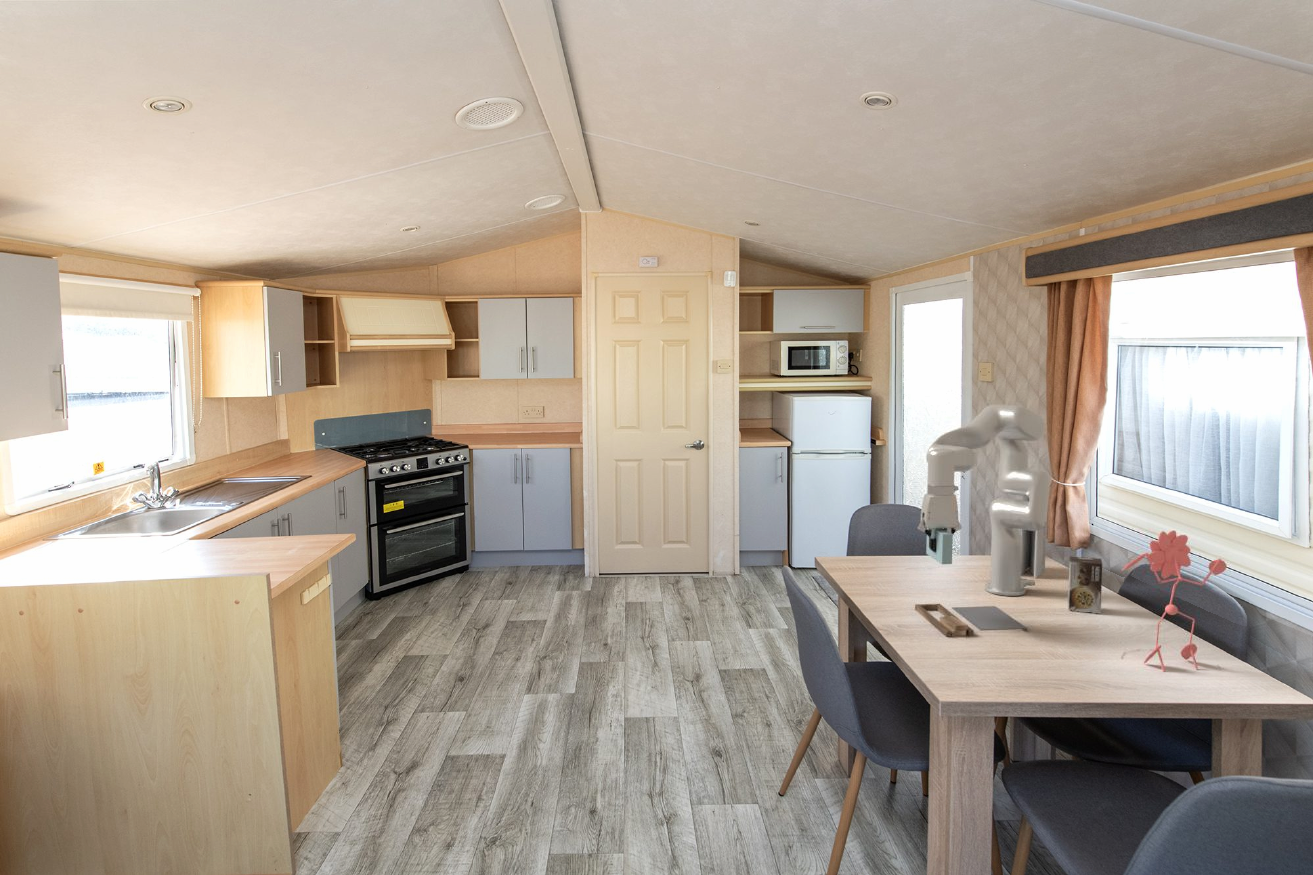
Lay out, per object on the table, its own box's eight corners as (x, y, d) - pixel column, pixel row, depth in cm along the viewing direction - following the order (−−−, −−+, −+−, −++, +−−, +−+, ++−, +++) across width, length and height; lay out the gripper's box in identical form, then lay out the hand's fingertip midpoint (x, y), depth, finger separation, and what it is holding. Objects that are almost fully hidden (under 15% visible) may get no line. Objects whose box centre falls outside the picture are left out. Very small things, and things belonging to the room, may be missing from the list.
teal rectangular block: (935, 553, 254) (936, 524, 252) (951, 564, 242) (952, 534, 241) (926, 553, 253) (926, 525, 252) (941, 564, 242) (942, 534, 240)
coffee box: (1099, 608, 258) (1102, 558, 257) (1100, 614, 253) (1103, 563, 251) (1067, 604, 262) (1069, 555, 260) (1067, 610, 256) (1070, 560, 255)
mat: (995, 609, 259) (995, 606, 259) (1027, 631, 239) (1027, 628, 239) (951, 610, 258) (951, 607, 258) (980, 632, 238) (980, 629, 238)
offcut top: (951, 620, 242) (952, 615, 242) (967, 630, 234) (968, 624, 234) (939, 621, 241) (939, 616, 241) (955, 631, 233) (955, 626, 233)
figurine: (1230, 668, 210) (1237, 534, 207) (1136, 674, 208) (1141, 538, 204) (1185, 648, 226) (1191, 522, 222) (1097, 653, 223) (1101, 526, 219)
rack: (939, 611, 257) (939, 603, 257) (973, 638, 234) (973, 630, 233) (915, 612, 257) (915, 604, 257) (946, 639, 233) (946, 631, 233)
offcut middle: (952, 626, 242) (952, 621, 242) (965, 635, 234) (965, 630, 234) (939, 626, 241) (939, 621, 241) (952, 636, 233) (952, 631, 233)
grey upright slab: (1035, 578, 291) (1039, 495, 288) (1019, 576, 294) (1022, 493, 291) (1044, 569, 302) (1048, 489, 299) (1028, 567, 306) (1032, 487, 302)
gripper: (962, 487, 249) (960, 546, 251) (909, 488, 248) (907, 548, 251) (972, 491, 242) (971, 552, 244) (918, 493, 241) (917, 554, 243)
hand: (939, 549), depth 247 cm, fingers closed on teal rectangular block, 3 cm apart
